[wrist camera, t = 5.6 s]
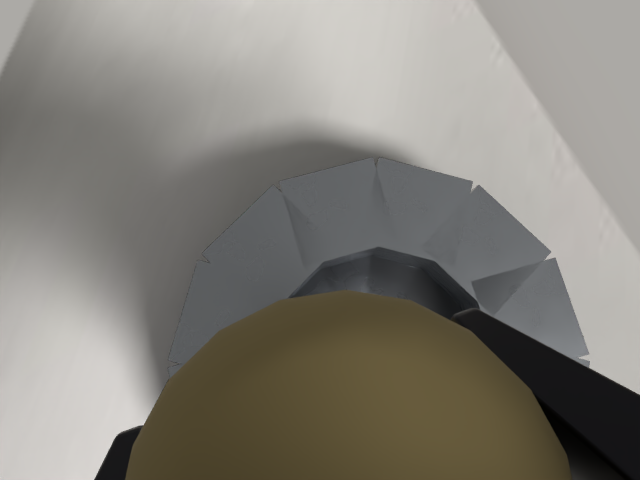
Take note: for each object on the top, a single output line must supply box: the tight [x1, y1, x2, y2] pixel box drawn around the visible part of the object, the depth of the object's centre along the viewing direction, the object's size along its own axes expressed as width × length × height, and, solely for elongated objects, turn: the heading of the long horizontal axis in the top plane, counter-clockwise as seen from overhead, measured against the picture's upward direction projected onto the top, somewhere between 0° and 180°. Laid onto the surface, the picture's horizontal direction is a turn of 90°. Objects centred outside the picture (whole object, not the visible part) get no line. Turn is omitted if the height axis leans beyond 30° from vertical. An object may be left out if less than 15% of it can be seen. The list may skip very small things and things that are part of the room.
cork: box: [125, 290, 572, 480], centre depth 10 cm, size 6×6×11 cm
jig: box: [168, 157, 590, 378], centre depth 20 cm, size 14×14×3 cm
